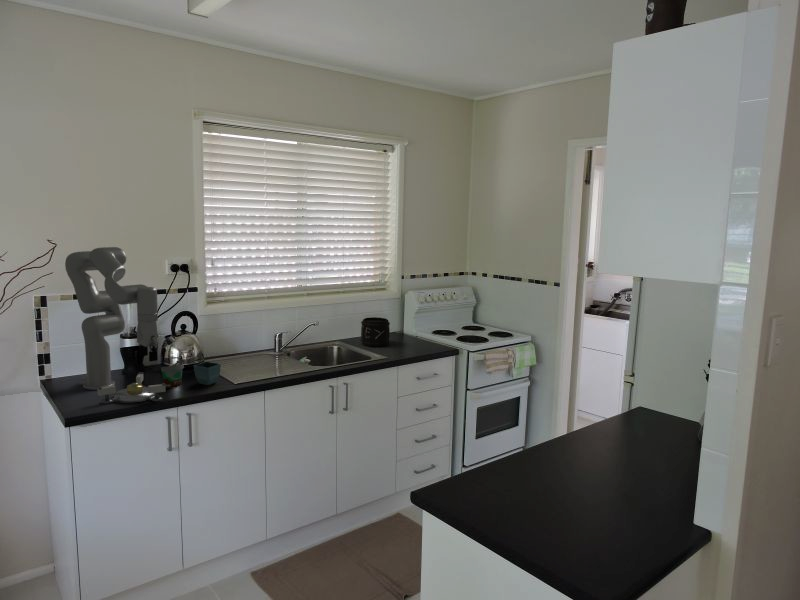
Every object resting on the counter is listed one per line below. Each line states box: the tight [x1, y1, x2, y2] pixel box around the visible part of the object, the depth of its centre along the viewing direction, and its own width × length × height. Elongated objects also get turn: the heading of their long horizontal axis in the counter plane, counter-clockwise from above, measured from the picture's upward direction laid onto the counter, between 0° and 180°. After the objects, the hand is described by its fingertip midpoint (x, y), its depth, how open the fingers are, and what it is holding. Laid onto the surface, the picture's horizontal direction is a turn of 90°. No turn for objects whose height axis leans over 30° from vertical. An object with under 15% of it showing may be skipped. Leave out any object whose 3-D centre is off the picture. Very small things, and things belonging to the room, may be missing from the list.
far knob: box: [147, 382, 167, 398], centre depth 238 cm, size 6×2×6 cm, turn 119°
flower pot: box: [193, 361, 222, 386], centre depth 263 cm, size 9×9×9 cm
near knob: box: [96, 385, 117, 400], centre depth 233 cm, size 6×2×6 cm, turn 134°
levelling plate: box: [100, 382, 164, 405], centre depth 241 cm, size 21×24×6 cm
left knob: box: [135, 372, 144, 385], centre depth 252 cm, size 6×2×6 cm, turn 14°
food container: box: [161, 360, 185, 389], centre depth 259 cm, size 12×6×10 cm, turn 168°
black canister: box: [360, 316, 391, 348], centre depth 354 cm, size 18×18×16 cm
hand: (148, 358), depth 236 cm, fingers open, 9 cm apart
